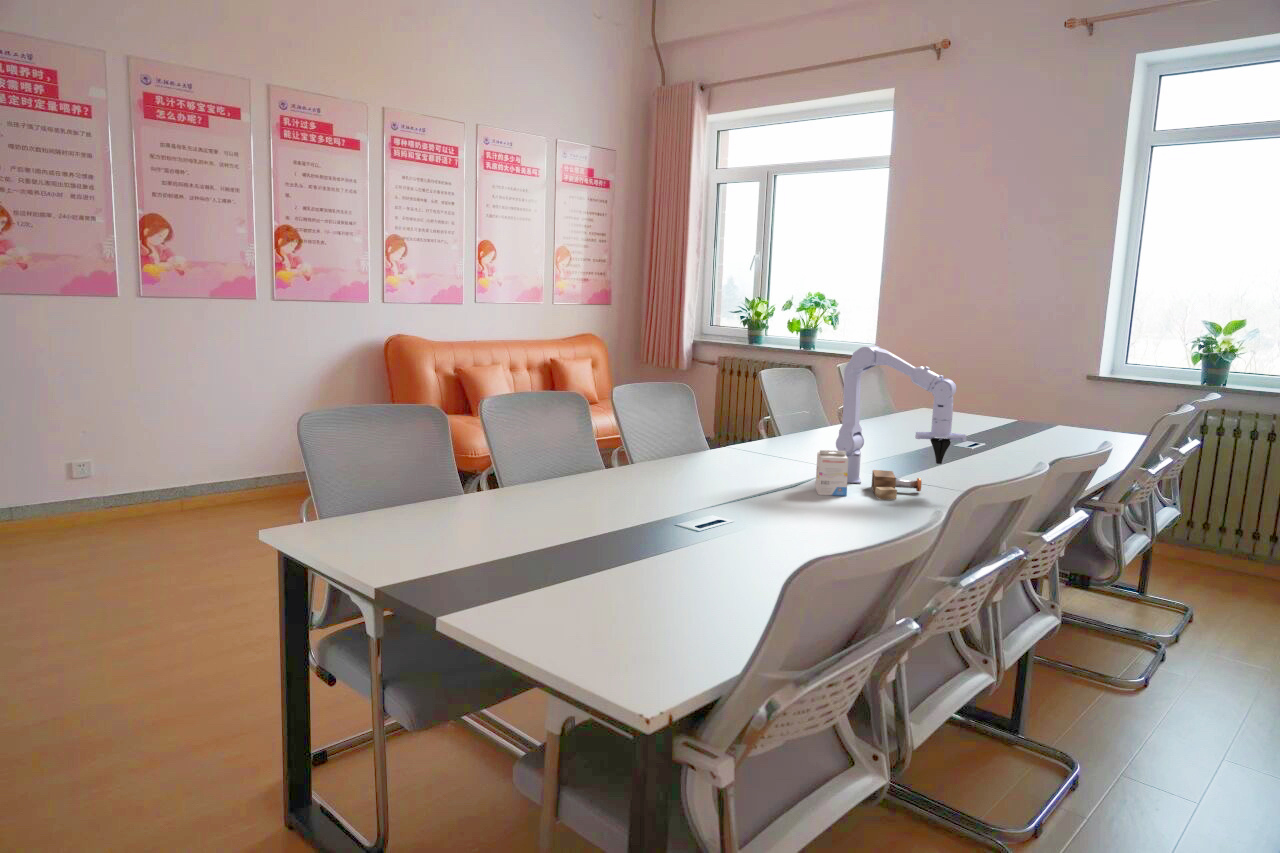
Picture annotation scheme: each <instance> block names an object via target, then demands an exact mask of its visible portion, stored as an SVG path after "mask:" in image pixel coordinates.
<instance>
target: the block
mask: <svg viewBox="0 0 1280 853" xmlns="http://www.w3.org/2000/svg"><path fill="white" fill-rule="evenodd" d="M897 494H898V490H897V489H896V488H895V489H894V488H893V487H876V489H875V494H874V497H876V498H877V497H878V498H877V499H879V500H897Z"/></svg>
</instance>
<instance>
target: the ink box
mask: <svg viewBox="0 0 1280 853" xmlns="http://www.w3.org/2000/svg"><path fill="white" fill-rule="evenodd" d="M816 456H817V457H816V469H815V470H816V472H815V491H816V493H817V495H818V496H837V497H838V496H840V497H841V496H843V497H844V496H845V497H847V496H848V483H847V477H848V458H847V456H846V451H838V450H827V449H825V450H822V449H821V450H819V451H818V452H817V454H816Z"/></svg>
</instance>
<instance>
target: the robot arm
mask: <svg viewBox="0 0 1280 853" xmlns="http://www.w3.org/2000/svg"><path fill="white" fill-rule="evenodd" d="M876 366H887V367H890V368H892V369H894V370H896V371H899V373H902V374H904V375H905V376H908V377H910V381H911V382H912V384H914V385H917V386H918V387H919V388H921V389H923V390H926V391H927V392H929V393H932V396H933V404H932V416H931V427H930V428H931V429H930V430H931V431H915V436H914V437H915V439H916V440H929V441H930V444H931V446H932V448H933V452H934V457H935V464H937V465H942V464H943V459H944V458H945V454H946V452H947V451H948V449H949V447H950V446H951V443H952V442H951V441H957V442H967V437H968V436H967V434H966V433H956V432H955V433H952V424H953V415H954V414H953V413H954V412H953V411H954V395H955V394H956V393H957V389H958V388H957V385H956V383H955V382H954V381H953V380H952V379H951V378H949V377H948V378H944V377H945V375H942V374H937V373H936V372H934V371H932V370H930V369H931V367H929V366H922V365H921V366H917V367H916V366H914V365H912V364H911V363H910V362H907V361H906V360H905V359H903V358H901V357H899V356H897V354H894V353H893V352H890V351H889V350H887V349H885V348H881V347H880V346H878V345H871V346H862V347H859V348H858V349H856V350H855V351H854V352H853V353H852V356H851V357H850V359H849V361H848V362H847V364H846V366H845V368H844V371H843V372H844V374H843V375H844V376H843V405H842V406H843V407H842V425H841V426H840V429H839V431H838V437H837V438H836V441H835V448H836V449H837V450H836V451H846V456H847V458H848V477H847V484H848V483H849V484H850V483H852V484H861V483H862V481H861V477H860V470H861V456H862V454H861V453H862V452H861V449H862V448H863V447H864V444H865V438H864V436H863V433H862V432H863V431H862V430H863V429H862V427H861V424H860V419H861V418H860V417H861V416H860V415H861V388H862V387H861V386H862V382H861V381H862V376H863V374H864V373H866V372H867V371H868V370H870V369H871V368H874V367H876Z"/></svg>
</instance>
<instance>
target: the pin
mask: <svg viewBox="0 0 1280 853" xmlns="http://www.w3.org/2000/svg"><path fill="white" fill-rule="evenodd" d="M895 488H906V489H915V490H916V492H921V491H922V478H920V477H919V478H918V477H917V478H916V480H912V479H908V480H907V479H897V478H896V482H895Z"/></svg>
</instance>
